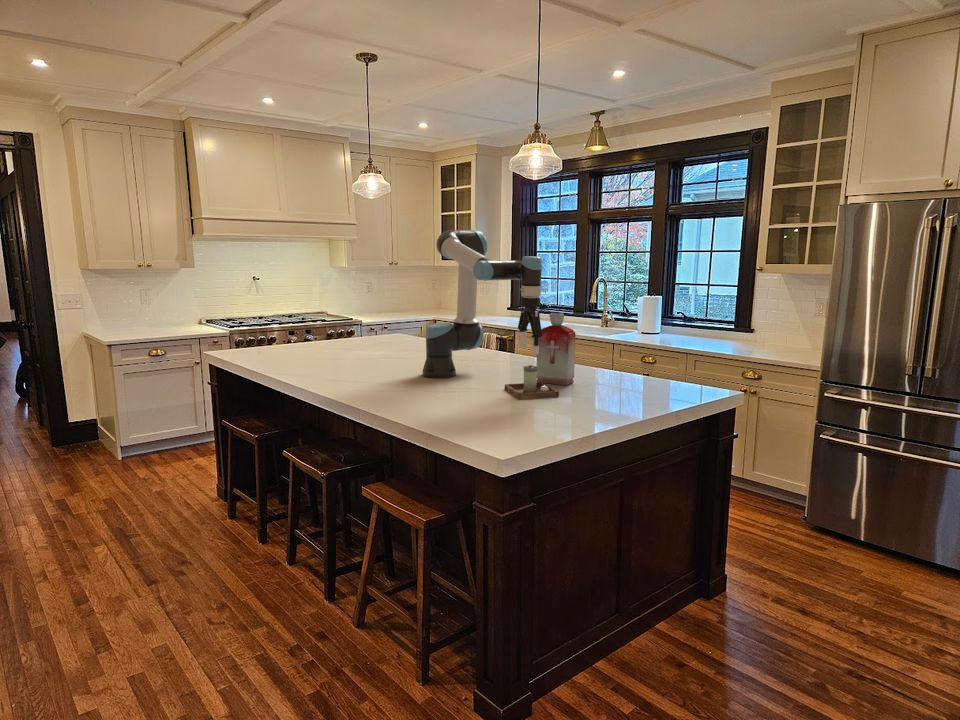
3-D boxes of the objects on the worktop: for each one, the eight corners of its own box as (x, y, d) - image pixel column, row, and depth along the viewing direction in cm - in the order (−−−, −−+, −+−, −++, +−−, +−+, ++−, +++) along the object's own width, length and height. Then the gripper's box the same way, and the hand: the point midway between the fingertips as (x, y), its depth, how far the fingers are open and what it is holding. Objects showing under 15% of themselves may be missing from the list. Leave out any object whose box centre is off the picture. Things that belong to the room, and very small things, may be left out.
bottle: (534, 383, 266) (536, 313, 260) (543, 379, 275) (545, 311, 269) (566, 387, 259) (569, 315, 254) (575, 383, 268) (577, 313, 263)
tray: (504, 390, 253) (504, 384, 253) (541, 388, 258) (541, 382, 257) (519, 400, 236) (519, 394, 236) (558, 398, 241) (558, 391, 240)
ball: (538, 393, 246) (538, 384, 245) (546, 393, 246) (546, 384, 246) (541, 395, 242) (541, 386, 241) (550, 395, 243) (550, 386, 242)
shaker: (521, 391, 250) (521, 364, 248) (533, 390, 251) (534, 363, 249) (525, 394, 245) (526, 367, 243) (538, 393, 246) (539, 366, 244)
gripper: (511, 293, 252) (509, 345, 256) (533, 300, 228) (531, 357, 232) (528, 293, 254) (526, 345, 258) (552, 300, 230) (549, 356, 235)
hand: (528, 350), depth 245 cm, fingers open, 13 cm apart
